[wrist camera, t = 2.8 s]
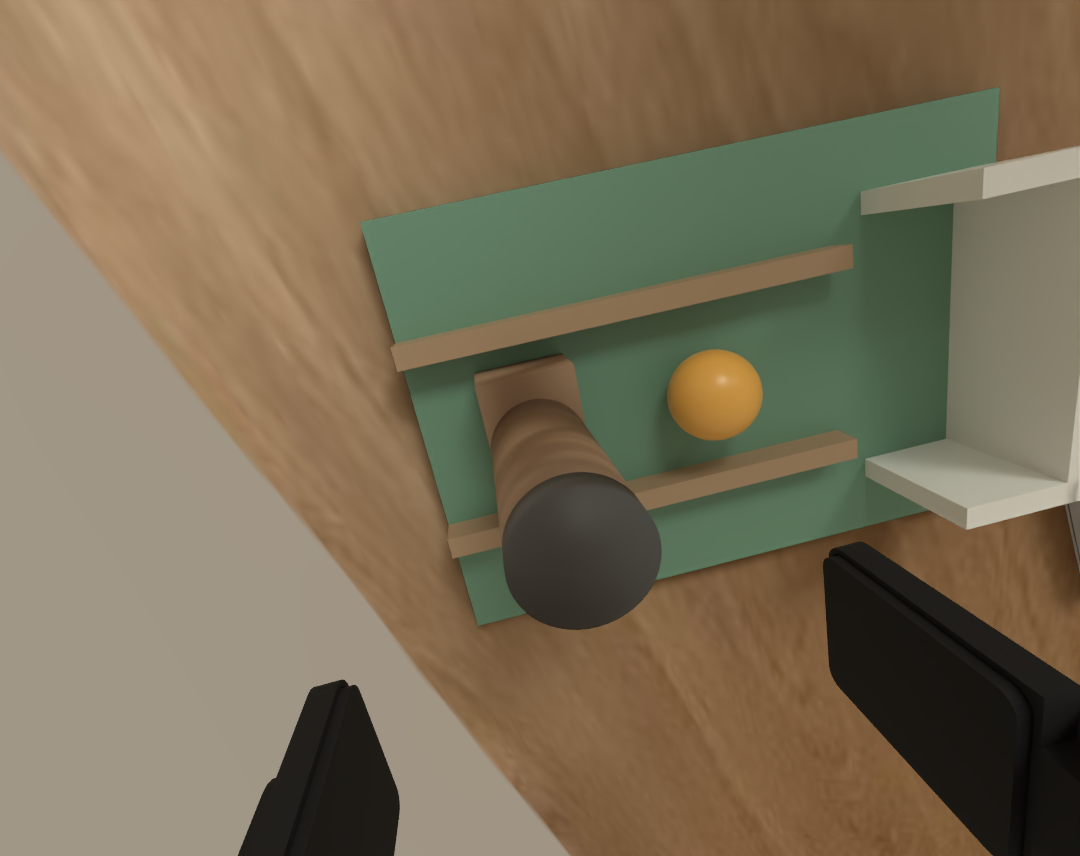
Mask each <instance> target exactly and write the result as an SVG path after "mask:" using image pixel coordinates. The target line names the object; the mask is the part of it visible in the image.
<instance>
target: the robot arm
mask: <svg viewBox="0 0 1080 856" xmlns="http://www.w3.org/2000/svg"><path fill="white" fill-rule="evenodd" d="M823 572H824V589H825V605H826V622H827V639H828V655H829V668H830V672H831V675H832V677H833V679H834V681H835V682H836V684H837V685H838V687H839V688H840V689H841V690H842V691H843V692H844V693H845V694H846V696H847V697H848V698H849V699H850V700H851V701H852V702H853V703H854V704H855V705H856V706H857V708H858V709H859V710H860V711H861V712H862V713H863V714H864V715H865V716H866V717H867V719H868V720H869V721H870V722H871V723H872V724H873V725H874V726H875V727H876V728H877V730H878V731H879V732H880V733H881V734H882V735H883V736H884V737H885V738H886V739H887V741H888V742H889V743H890V744H891V745H892V746H893V747H894V748H895V749H896V750H897V752H898V753H899V754H900V755H901V756H902V757H903V758H904V759H905V760H906V761H907V762H908V764H909V765H910V766H911V767H912V768H913V769H914V770H915V771H916V772H917V773H918V775H919V776H920V777H921V778H922V779H923V780H924V781H925V782H926V783H927V784H928V786H929V787H930V788H931V789H932V790H933V791H934V792H935V793H936V794H937V795H938V797H939V798H940V799H941V800H942V801H943V802H944V803H945V804H946V805H947V806H948V808H949V809H950V810H951V811H952V812H953V813H954V814H955V815H956V816H957V817H958V819H959V820H960V821H961V822H962V823H963V824H964V825H965V826H966V827H967V828H968V829H969V831H970V832H971V833H972V834H973V835H974V836H975V837H976V838H977V839H978V840H979V842H980V843H981V844H982V845H983V846H984V847H985V848H986V849H987V850H988V851H989V852H990V853H991V854H992V855H993V856H1080V685H1078V684H1077V683H1075V682H1074V681H1072V680H1071V679H1069V678H1068V677H1066V676H1065V675H1063V674H1062V673H1060V672H1059V671H1057V670H1056V669H1054V668H1053V667H1051V666H1050V665H1048V664H1047V663H1045V662H1044V661H1042V660H1041V659H1039V658H1038V657H1036V656H1035V655H1033V654H1032V653H1030V652H1029V651H1027V650H1026V649H1024V648H1023V647H1021V646H1020V645H1018V644H1017V643H1015V642H1014V641H1012V640H1011V639H1009V638H1008V637H1006V636H1005V635H1003V634H1002V633H1000V632H999V631H997V630H996V629H994V628H993V627H991V626H989V625H988V624H986V623H985V622H983V621H982V620H980V619H979V618H977V617H976V616H974V615H973V614H971V613H970V612H968V611H967V610H965V609H964V608H962V607H961V606H959V605H958V604H956V603H955V602H953V601H952V600H950V599H949V598H947V597H946V596H944V595H943V594H941V593H940V592H938V591H937V590H935V589H934V588H932V587H931V586H929V585H928V584H926V583H925V582H923V581H922V580H920V579H919V578H917V577H916V576H914V575H913V574H911V573H910V572H908V571H907V570H905V569H904V568H902V567H901V566H899V565H898V564H896V563H895V562H893V561H892V560H890V559H889V558H887V557H886V556H884V555H883V554H881V553H880V552H878V551H876V550H875V549H873V548H872V547H870V546H869V545H867V544H866V543H863V542H856V543H852V544H848V545H844V546H841V547H837V548H833V549H832V550H830V553H829V558H826V559H825V560H824V562H823ZM399 810H400V804H399V795H398V790H397V787H396V785H395V782H394V779H393V777H392V774H391V771H390V769H389V766H388V764H387V761H386V758H385V756H384V753H383V751H382V748H381V745H380V743H379V740H378V737H377V735H376V732H375V730H374V727H373V724H372V722H371V719H370V717H369V714H368V712H367V709H366V706H365V703H364V701H363V698H362V696H361V693H360V691H359V689H358V687H357V686H356V685H352V686H349V685H348V683H347V682H346V681H345V680H339V681H335V682H331V683H328V684H324V685H321V686H317V687H313V688H312V689H311V690H310V692H309V694H308V696H307V699H306V701H305V704H304V707H303V709H302V712H301V714H300V717H299V720H298V722H297V725H296V727H295V730H294V733H293V735H292V738H291V740H290V743H289V746H288V748H287V751H286V754H285V757H284V759H283V761H282V764H281V767H280V769H279V772H278V774H277V777H276V778H274V779H272V780H271V781H270V782H269V783H268V784H267V786H266V788H265V790H264V792H263V794H262V796H261V799H260V801H259V804H258V806H257V809H256V811H255V814H254V816H253V819H252V821H251V824H250V826H249V829H248V831H247V834H246V836H245V839H244V841H243V844H242V846H241V849H240V851H239V854H238V856H394V851H395V844H396V835H397V828H398V820H399Z"/></svg>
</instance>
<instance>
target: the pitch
mask: <svg viewBox="0 0 1080 856" xmlns="http://www.w3.org/2000/svg"><path fill="white" fill-rule="evenodd" d="M999 97H1000V87H997V88H992V89H988V90H983V91H978V92H973V93H969V94H964V95H959V96H955V97H950V98H945V99H940V100H936V101H931V102H926V103H921V104H917V105H912V106H907V107H903V108H898V109H893V110H888V111H884V112H879V113H874V114H869V115H865V116H860V117H855V118H850V119H846V120H841V121H836V122H832V123H827V124H822V125H817V126H813V127H808V128H803V129H798V130H794V131H789V132H784V133H779V134H775V135H770V136H765V137H761V138H756V139H751V140H746V141H742V142H737V143H732V144H727V145H723V146H718V147H713V148H709V149H704V150H699V151H694V152H690V153H685V154H680V155H675V156H671V157H666V158H661V159H656V160H652V161H647V162H642V163H638V164H633V165H628V166H623V167H619V168H614V169H609V170H604V171H600V172H595V173H590V174H585V175H581V176H576V177H571V178H567V179H562V180H557V181H552V182H548V183H543V184H538V185H533V186H529V187H524V188H519V189H515V190H510V191H505V192H500V193H496V194H491V195H486V196H481V197H477V198H472V199H467V200H462V201H458V202H453V203H448V204H444V205H439V206H434V207H429V208H425V209H420V210H415V211H410V212H406V213H401V214H396V215H391V216H387V217H382V218H377V219H373V220H368V221H363V222H360V224H361V228H362V231H363V234H364V238H365V241H366V245H367V248H368V252H369V255H370V258H371V262H372V265H373V269H374V272H375V275H376V279H377V282H378V286H379V289H380V293H381V296H382V299H383V303H384V306H385V310H386V313H387V316H388V320H389V323H390V327H391V330H392V334H393V337H394V340H395V344H394V345H393V346H392V347H391V348H390V349H391V352H392V356H393V359H394V362H395V366H396V369H397V372H399V371H404V375H405V378H406V381H407V385H408V388H409V392H410V395H411V398H412V402H413V405H414V409H415V412H416V416H417V419H418V422H419V426H420V429H421V433H422V436H423V439H424V443H425V446H426V450H427V453H428V456H429V460H430V463H431V467H432V470H433V474H434V477H435V480H436V484H437V487H438V491H439V494H440V497H441V501H442V504H443V508H444V511H445V515H446V518H447V521H448V525H449V526H448V537H447V541H448V544H449V548H450V551H451V554H452V558H453V559H454V558H458V559H459V562H460V566H461V569H462V573H463V576H464V579H465V583H466V586H467V590H468V593H469V597H470V600H471V603H472V607H473V610H474V614H475V617H476V620H477V624H478V626H480V625H484V624H488V623H492V622H496V621H499V620H503V619H507V618H511V617H515V616H519V615H523V614H527V613H526V612H525V611H524V610H523V609H522V608H521V607H520V606H519V605H518V604H517V602H516V601H515V600H514V598H513V596H512V595H511V593H510V591H509V588H508V585H507V583H506V578H505V573H504V564H503V555H502V546H501V536H500V527H499V518H498V509H497V499H496V490H495V481H494V471H493V462H492V454H491V450H490V446H489V442H488V438H487V434H486V430H485V426H484V422H483V418H482V414H481V410H480V406H479V402H478V399H477V395H476V391H475V380H474V373H476V372H481V371H485V370H489V369H494V368H498V367H502V366H507V365H511V364H516V363H520V362H524V361H529V360H533V359H537V358H542V357H546V356H550V355H555V354H559V353H562V354H563V355H564V356H565V357H566V358H568V359H569V360H570V361H571V362H572V363H573V364H574V368H575V373H576V378H577V384H578V389H579V394H580V399H581V405H582V410H583V415H584V420H585V426H586V427H587V428H588V430H589V431H590V433H591V434H592V435H593V437H594V438H595V439H596V441H597V442H598V444H599V445H600V446H601V448H602V449H603V451H604V452H605V453H606V455H607V456H608V458H609V459H610V460H611V462H612V463H613V465H614V466H615V467H616V469H617V470H618V471H619V473H620V474H621V476H622V477H623V478H624V480H625V481H626V483H627V484H628V485H629V487H630V488H631V490H632V491H633V492H634V494H635V495H636V496H637V498H638V499H639V501H640V502H641V503H642V505H643V506H644V508H645V509H646V510H647V512H648V513H649V515H650V516H651V517H652V519H653V521H654V523H655V524H656V527H657V529H658V532H659V535H660V539H661V547H662V556H661V564H660V569H659V572H658V575H657V578H656V580H659V579H663V578H667V577H671V576H675V575H679V574H682V573H686V572H690V571H694V570H698V569H702V568H706V567H710V566H714V565H717V564H721V563H725V562H729V561H733V560H737V559H741V558H745V557H749V556H753V555H756V554H760V553H764V552H768V551H772V550H776V549H780V548H784V547H788V546H791V545H795V544H799V543H803V542H807V541H811V540H815V539H819V538H823V537H827V536H830V535H834V534H838V533H842V532H846V531H850V530H854V529H858V528H862V527H865V526H869V525H873V524H877V523H881V522H885V521H889V520H893V519H897V518H900V517H904V516H908V515H912V514H916V513H920V512H924V511H928V509H926V508H924V507H922V506H921V505H919V504H917V503H915V502H913V501H911V500H909V499H907V498H905V497H904V496H902V495H900V494H898V493H896V492H894V491H892V490H890V489H889V488H887V487H885V486H883V485H881V484H879V483H877V482H875V481H873V480H872V479H870V478H868V477H866V475H865V459H867V458H871V457H875V456H879V455H883V454H887V453H891V452H895V451H899V450H903V449H907V448H911V447H915V446H919V445H923V444H927V443H931V442H935V441H939V440H943V439H946V420H947V389H948V359H949V329H950V298H951V268H952V238H953V207H954V203H951V204H943V205H935V206H928V207H920V208H913V209H905V210H898V211H890V212H883V213H875V214H867V215H861V191H866V190H870V189H875V188H879V187H884V186H889V185H893V184H898V183H902V182H907V181H911V180H916V179H920V178H925V177H929V176H934V175H939V174H943V173H948V172H952V171H957V170H961V169H966V168H970V167H975V166H980V165H985V164H990V163H995V162H996V152H997V133H998V115H999ZM711 349H720V350H727V351H731V352H733V353H736V354H738V355H740V356H741V357H743V358H745V359H746V360H747V361H748V362H749V363H750V364H751V365H752V366H753V367H754V369H755V370H756V372H757V373H758V375H759V377H760V380H761V383H762V389H763V399H762V405H761V408H760V411H759V413H758V415H757V417H756V418H755V420H754V421H753V422H752V424H751V425H750V426H749V427H748V428H747V429H746V430H744V431H743V432H741V433H740V434H738V435H736V436H734V437H731V438H728V439H725V440H716V441H711V440H704V439H700V438H697V437H694V436H692V435H690V434H688V433H687V432H685V431H684V430H683V429H682V428H681V427H680V426H679V425H678V424H677V423H676V422H675V420H674V419H673V417H672V415H671V413H670V411H669V408H668V403H667V388H668V384H669V381H670V378H671V376H672V374H673V373H674V371H675V369H676V368H677V367H678V366H679V365H680V364H681V363H682V362H683V361H684V360H685V359H687V358H688V357H690V356H691V355H693V354H696V353H698V352H701V351H704V350H711Z"/></svg>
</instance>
